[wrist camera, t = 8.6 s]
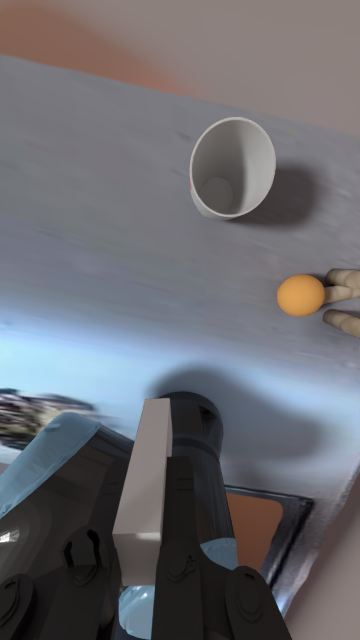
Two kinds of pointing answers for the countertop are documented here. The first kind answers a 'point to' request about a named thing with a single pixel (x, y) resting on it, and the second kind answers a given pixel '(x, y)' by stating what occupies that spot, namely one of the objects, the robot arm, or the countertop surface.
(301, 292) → the ball
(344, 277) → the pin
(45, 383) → the countertop surface
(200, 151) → the cup
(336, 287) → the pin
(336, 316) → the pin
